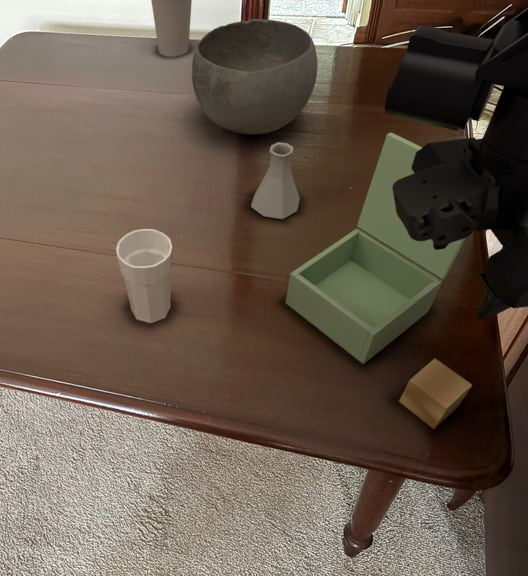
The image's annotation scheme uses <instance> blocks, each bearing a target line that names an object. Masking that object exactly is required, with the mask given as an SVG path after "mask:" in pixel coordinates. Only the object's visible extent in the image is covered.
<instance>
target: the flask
mask: <svg viewBox="0 0 528 576" xmlns="http://www.w3.org/2000/svg"><path fill="white" fill-rule="evenodd" d="M293 151H294V146H293V145H291V144H289V143H286V142H280V141H279V142H276V143H274V144H271V146H270V148H269V155H270V163H269V166H268V168H267V171H266V172H265V174H264V177H263V179H262V180H261V182H260V184H259V185H258V188H257V189H256V191H255V192H254V194H253V198H252V200H251V205H250V207H251V208H252V209H253V210H255V211H256V212H257V213H258V214H260V215H261V216H262V217H267V218H272V219H279V220H284V219H285V218H287V217H289V216H291V215H292V214H294V213H296V212H298V209H299V205H300V202H301V198H300V195H299V192H298V189H297V186H296V183H295V180H294V176H293V173H292V169H291V168H292V167H291V156H292V155H293Z"/></svg>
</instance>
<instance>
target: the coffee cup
mask: <svg viewBox="0 0 528 576" xmlns="http://www.w3.org/2000/svg"><path fill="white" fill-rule="evenodd" d="M192 3H193V2H192V0H151V8H152V14H153V21H154V27H155V28H154V29H155V36H156V42H157V48H158V49H157V50H158V53H159V54H160V55H161V56H164V57H168V58H173V57H174V58H176V57H180V56H183V55H185V54H186V53H188V51H189V50H190V49H189V47H190V31H191V19H192Z"/></svg>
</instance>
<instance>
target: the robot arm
mask: <svg viewBox="0 0 528 576" xmlns="http://www.w3.org/2000/svg"><path fill="white" fill-rule="evenodd" d="M495 86H500V87H503V88H502V90H501V92H500V95H499V98H498V100H497V102H496V104H495V107H494V110H493V112H492V115H491V117H490V119H489V121H488V124H487V127H486V129H485V132H484V133H483V136H482V138H476V137H467V138H459V139H451V140H450V139H449V140H443V141H436V142H435V141H433V142H428V143H426V144H425V145H424V146H421V147H422V148H421V149H420V150H419V151H417V152H416V154H415V157H414V161H413V164H412V167H411V169H412V170H413V172H414V174H411V175H409V176H406V177H404V178H401V179H399V180H397V181H396V182H395V183H394V184H393V186H392V189H393V195H394V201H395V207H396V213H397V216H398V217H399V218H400V220H401V221H402V223H403V225H404V226H405V228H406V230H407V232H408V234H409V236H410V237H411V238H412V239H413V240H415V241H426V240H429V239H431V240H432V241H433V247H434V249H435V250H439V249H445V248H446V247H447V246H448V244H449V243H452V242H455V241H458V240H461V239H464V238H466V239H467V238H468V237H469V236H470V235H472V234H473V232H483V231H489V230H490V231H491V232H492V234H493V235H494V237H495V238H496V239H497V240H498V242H499V243H500V245H501V246H502V247H503V248H501V249H500V250H498V251H496V252H495V253H493V254H491V255H489V257H488V259H487V261H486V263H485V265H484V269H485V272H479V274H478V276H479V277H480V278H481V280H482V282H483V283H484V285H485V286H486V289H485V292H484V293H483V296H482V298H481V301H480V303H479V305H478V308H477V312H476V315H475V316H476V318H477V320H489V319H491V318H493V317H495V316H497V315H499V314H500V313H503V312H504V311H506V310H509V309H510V308H512V309H519V308H528V7H527V8H525V9H523V11H521V12H520V13H518V14H517V15H515V16H514V17H513V18H512V19H510V20H508V22H506V23H505V24H504V25H502V27H501V29H500V30H499V32H498V33H497V35H496V36H495V39H492V38H488V37H487V38H486V37H482V36H481V37H480V36H474V35H468V34H462V33H456V32H449V31H445V30H443V29H441V28H439V27H435V26H431V25H424V24H420V25H419V26H417V28H416V29H415V30H414V31H413V33H412V34H411V35H410V37H409V40H408V44H407V48H406V50H405V53H404V55H403V56H402V59H401V61H400V64H399V66H398V68H397V70H396V74H395V77H394V79H393V80H392V81H391V83H390V84H389V87H388V89H387V93H386V98H385V102H384V114H386V115H388V116H393V117H397V118H402V119H406V120H409V121H414V122H419V123H422V124H427V125H431V126H435V127H440V128H444V129H448V130H452V131H459V130H466V127H467V125H468V124H469V121H470V120H471V121H474V122H475V121H476V122H480V119H481V118H482V116H483V113H484V111H485V109H486V107H487V105H488V103H489V100H490V98H491V95H492V92H493V91H494V89H495Z"/></svg>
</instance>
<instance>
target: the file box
mask: <svg viewBox="0 0 528 576" xmlns="http://www.w3.org/2000/svg"><path fill="white" fill-rule="evenodd" d="M443 282H444V281H443V279H441V278H440V277H438V276H437V275H435V274H433V273H432V272H430V271H428V270H427V269H425V268H424V267H422V266H420V265H419V264H417V263H416V262H414V261H412V260H411V259H409V258H407V257H406V256H404V255H403V254H401V253H399V252H398V251H396V250H395V249H393V248H391V247H390V246H388V245H386V244H385V243H383V242H382V241H380V240H378V239H377V238H375V237H374V236H372V235H370V234H369V233H367V232H365V231H364V230H362V229H361V228H359V227H357V228H355V229H353V230H352V231H351V232H349V233H347V235H345V236H343V237H342V238H340V239H339V240H338V241H336V242H334V243H333V244H332V245H330V246H328V247H327V248H326V249H324V250H323V251H320V253H318V254H316V255H315V256H314V257H312V258H311V259H309V260H308V261H307V262H305V263H303V264H302V265H301V266H298V267H297V268H296V269H295V270H293V271H292V272H290V274H289V281H288V284H287V285H288V287H287V292H286V297H285V304H286V305H287V306H289V307H290V308H291V309H292V310H294V311H295V312H296V313H298V314H299V316H301V317H303V318H304V319H305V320H306V321H308V322H309V324H311V325H313V326H314V327H315V328H317V329H318V330H319V331H320V332H321V333H323V334H324V335H326V336H327V337H328V338H329V339H330V340H332V341H333V342H334V343H336V344H337V345H338V346H339V347H341V348H342V349H343V350H345V351H346V352H347V353H348V354H350V355H351V357H353V358H355V359H356V360H357V361H358V362H360V363H361V364H363V365H364V364H365V363H367V362H368V361H369V360H370V359H372V358H373V357H374V356H376V355H377V354H378V353H379V352H381V351H382V350H383V349H384V348H386V347H387V346H388V345H389V344H390V343H392V342H393V341H394V340H395V339H396V338H398V336H401V335H402V334H403V333H404V332H406V330H407V329H409V328H410V327H411V326H412V325H414V324H415V323H416V322H418V321H419V320H421V318H423V317H424V316H425V315H426V314H428V312H430V310H431V307H432V305H433V303H434V301H435V299H436V297H437V294H438V293H439V290H440V288H441V287H442V285H443Z"/></svg>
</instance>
